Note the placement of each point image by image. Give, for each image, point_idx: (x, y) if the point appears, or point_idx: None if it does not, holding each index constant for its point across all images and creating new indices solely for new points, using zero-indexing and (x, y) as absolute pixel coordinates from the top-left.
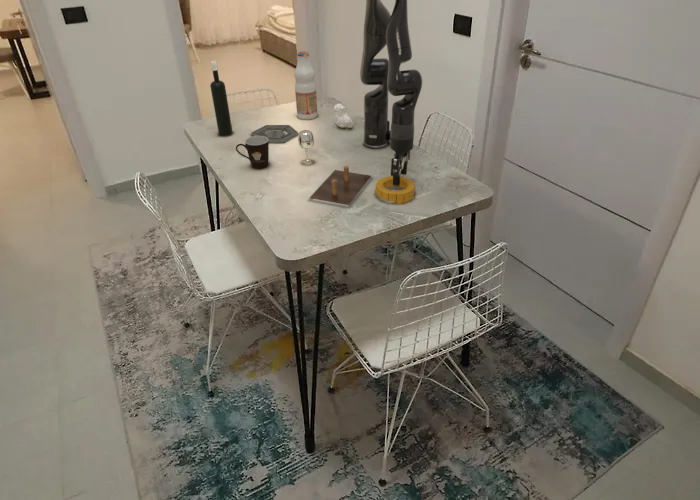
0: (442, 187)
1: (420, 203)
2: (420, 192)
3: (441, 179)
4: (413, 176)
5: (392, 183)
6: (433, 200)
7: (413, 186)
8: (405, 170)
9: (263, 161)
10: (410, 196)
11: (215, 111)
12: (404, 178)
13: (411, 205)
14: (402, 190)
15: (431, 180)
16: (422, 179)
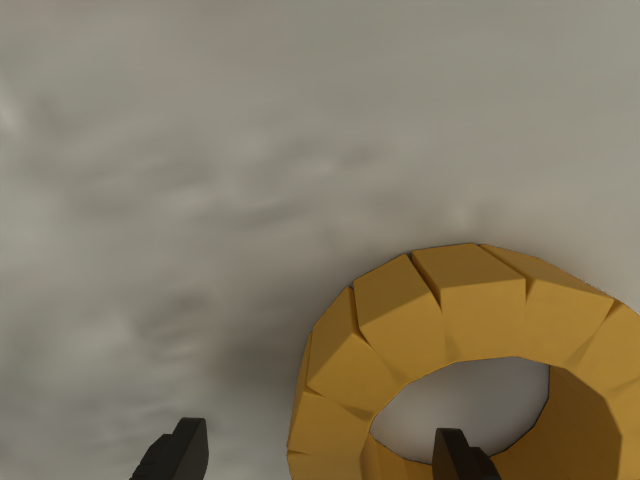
0: (181, 17)
1: (567, 157)
2: (357, 207)
3: (24, 71)
4: (99, 328)
5: (371, 467)
6: (483, 44)
7: (487, 295)
8: (184, 464)
9: None
10: (561, 271)
11: None
12: (318, 419)
13: (617, 226)
14: (608, 382)
15: (92, 164)
16: (113, 246)
